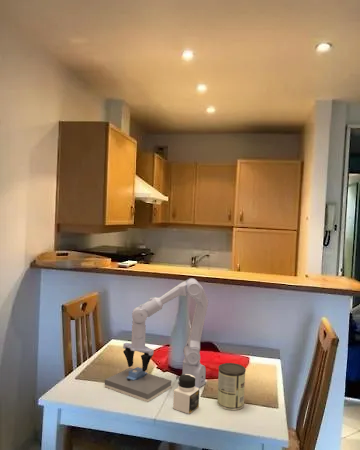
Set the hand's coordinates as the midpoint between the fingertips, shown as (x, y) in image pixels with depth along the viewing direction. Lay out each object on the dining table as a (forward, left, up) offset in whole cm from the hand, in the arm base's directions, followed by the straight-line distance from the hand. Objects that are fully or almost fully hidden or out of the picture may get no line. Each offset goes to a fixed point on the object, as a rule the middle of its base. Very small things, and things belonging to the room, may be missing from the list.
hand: (137, 368), depth 173 cm
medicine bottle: (-28, +6, -6) cm, 29 cm away
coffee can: (-40, -7, -6) cm, 41 cm away
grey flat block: (-3, +3, -6) cm, 8 cm away
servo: (0, 0, -5) cm, 5 cm away
